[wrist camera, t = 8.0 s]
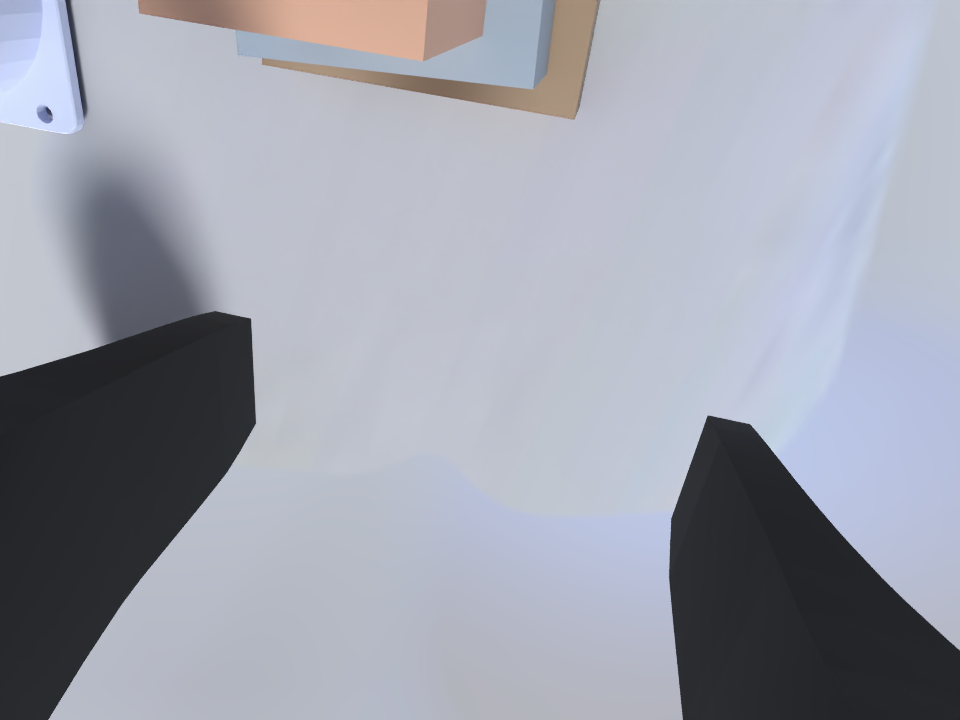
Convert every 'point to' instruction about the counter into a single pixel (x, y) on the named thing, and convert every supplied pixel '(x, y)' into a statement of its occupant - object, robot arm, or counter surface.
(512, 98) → the walnut base block
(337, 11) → the terracotta block
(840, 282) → the counter surface
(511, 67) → the slate middle block
